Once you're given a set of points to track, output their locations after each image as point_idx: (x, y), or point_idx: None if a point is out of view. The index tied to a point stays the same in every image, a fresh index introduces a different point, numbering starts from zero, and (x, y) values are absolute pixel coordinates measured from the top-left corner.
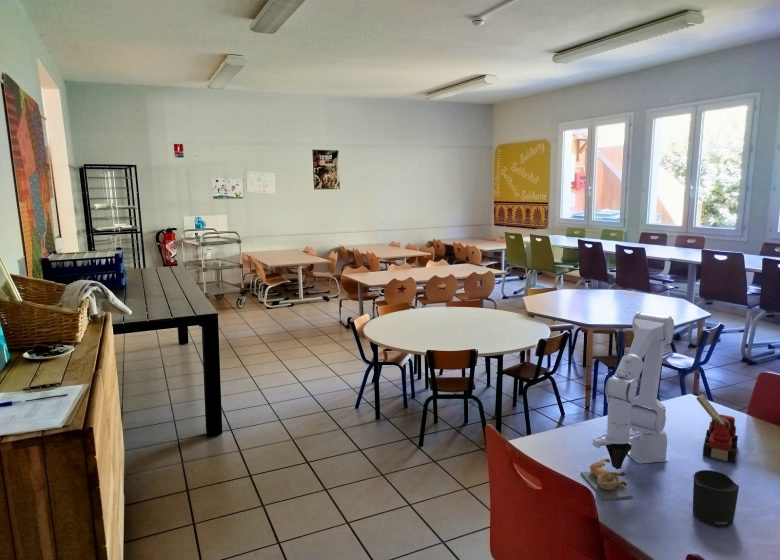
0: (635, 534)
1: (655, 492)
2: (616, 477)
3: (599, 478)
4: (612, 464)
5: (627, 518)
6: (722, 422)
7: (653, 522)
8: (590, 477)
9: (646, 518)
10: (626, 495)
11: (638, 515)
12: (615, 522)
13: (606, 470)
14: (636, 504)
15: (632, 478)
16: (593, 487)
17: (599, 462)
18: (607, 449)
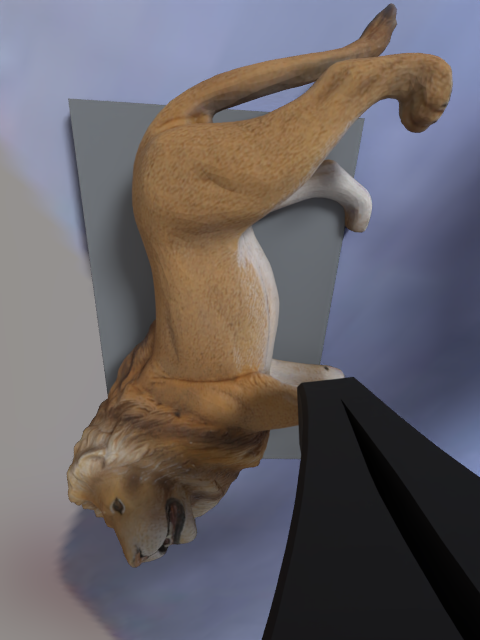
0: (149, 615)
1: (466, 425)
2: (250, 465)
3: (73, 492)
4: (300, 409)
5: (171, 555)
6: None
7: (265, 579)
8: (130, 217)
9: (254, 562)
10: (268, 453)
11: (233, 546)
12: (102, 567)
13: (252, 311)
14: (280, 490)
15: (475, 266)
16: (102, 341)
17: (252, 172)
18: (273, 604)
